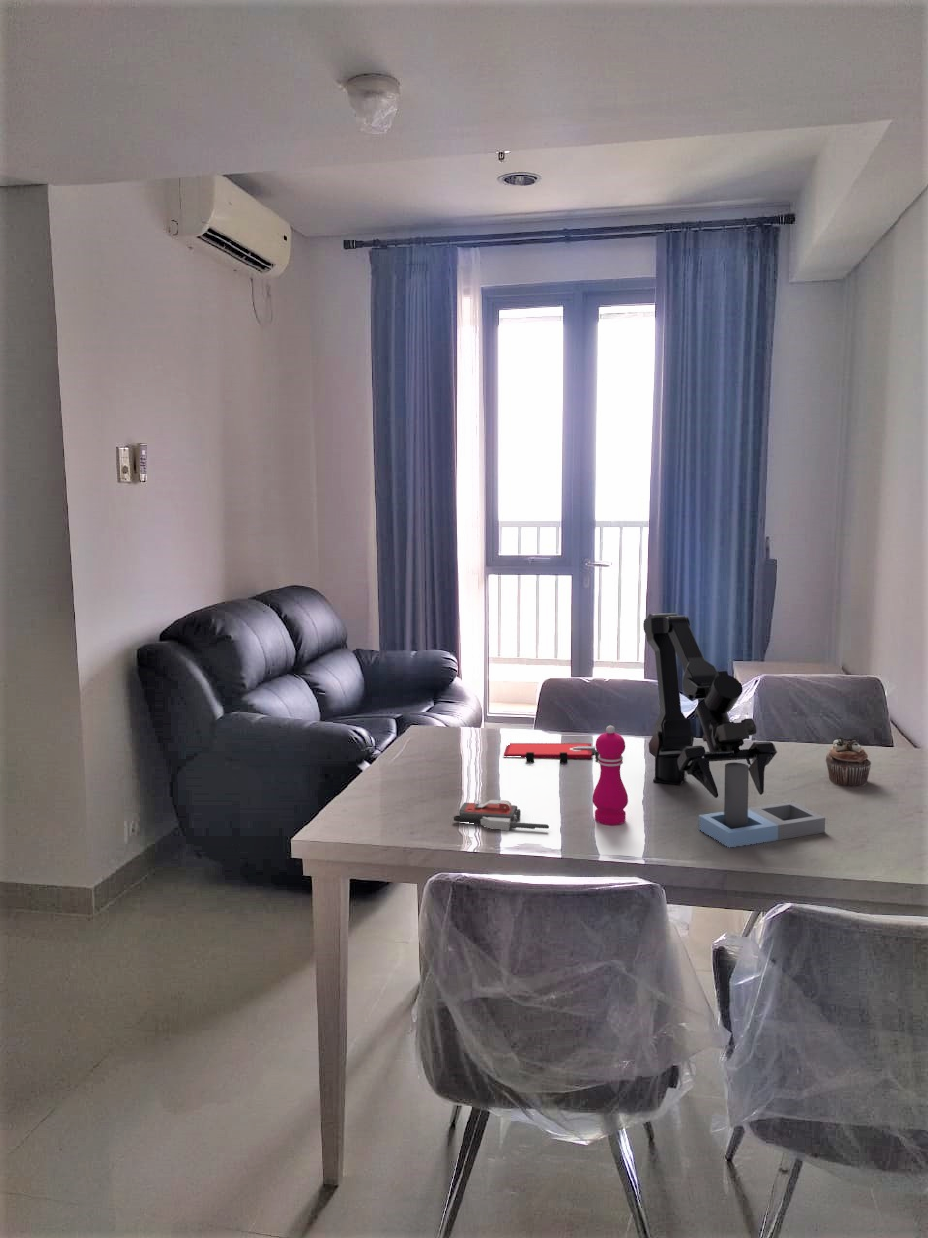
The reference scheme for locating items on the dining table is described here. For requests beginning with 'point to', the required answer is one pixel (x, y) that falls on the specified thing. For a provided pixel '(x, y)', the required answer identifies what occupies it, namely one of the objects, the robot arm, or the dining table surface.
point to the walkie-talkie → (494, 815)
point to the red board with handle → (551, 750)
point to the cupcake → (848, 763)
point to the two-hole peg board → (764, 824)
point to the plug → (736, 795)
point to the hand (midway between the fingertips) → (739, 795)
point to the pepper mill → (610, 780)
